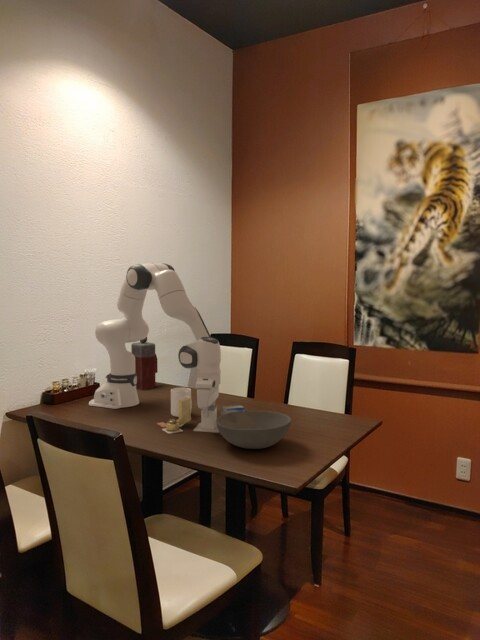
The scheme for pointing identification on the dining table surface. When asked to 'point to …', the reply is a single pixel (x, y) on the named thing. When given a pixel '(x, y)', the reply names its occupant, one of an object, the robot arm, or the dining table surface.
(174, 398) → the mug
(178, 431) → the marks
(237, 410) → the medicine box
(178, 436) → the dining table surface
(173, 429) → the gold angular piece
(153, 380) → the red canister
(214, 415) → the grey rectangular block
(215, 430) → the mat
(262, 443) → the bowl
